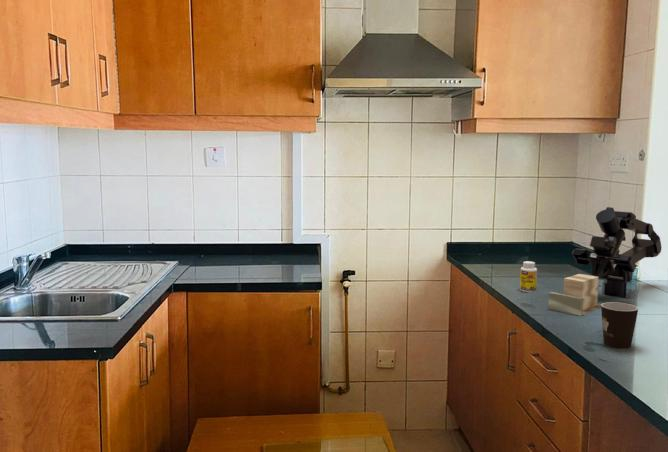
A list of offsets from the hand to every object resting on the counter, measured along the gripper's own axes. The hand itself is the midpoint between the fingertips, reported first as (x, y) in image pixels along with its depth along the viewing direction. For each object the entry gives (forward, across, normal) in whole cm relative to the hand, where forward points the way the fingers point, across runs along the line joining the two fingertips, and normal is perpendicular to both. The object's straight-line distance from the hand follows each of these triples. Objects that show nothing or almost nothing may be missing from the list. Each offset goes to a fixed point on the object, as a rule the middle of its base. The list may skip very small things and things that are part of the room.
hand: (593, 280), depth 192 cm
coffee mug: (+28, +21, -16) cm, 38 cm away
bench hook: (+13, 0, -1) cm, 13 cm away
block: (+11, 0, -1) cm, 11 cm away
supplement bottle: (+4, -24, +8) cm, 26 cm away
